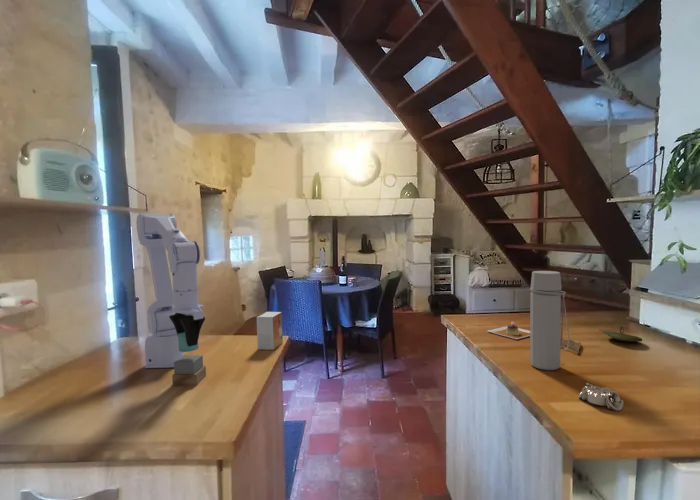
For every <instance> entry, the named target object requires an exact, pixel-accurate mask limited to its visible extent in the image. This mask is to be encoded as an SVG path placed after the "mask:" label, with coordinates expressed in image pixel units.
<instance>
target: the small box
mask: <svg viewBox="0 0 700 500" xmlns="http://www.w3.org/2000/svg"><path fill="white" fill-rule="evenodd" d="M256 334H257V335H256V339H257V341H256V342H257V350H267V351H269V350H271V351H272V350H273V351H274V350H275V349H277V348H278V347H279V346H281V345H282V344H283V343H284V341H283V337H284V336H283V312H282V311H266V312H264V313H262V314H260V315H258V316H256Z"/></svg>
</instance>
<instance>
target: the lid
mask: <svg viewBox="0 0 700 500" xmlns="http://www.w3.org/2000/svg"><path fill="white" fill-rule="evenodd" d="M622 329H623V331H622ZM624 331H625V327H624V326H623V325H621V326H620V328H619V332H616V331H611V330H601V332H602V334H604V335H606V336H608V337H609V338H612V339H614V340H618V341H621V342H626V343H627V342H629V343H633V342H643V339H642V338H641V337H639V336H636V335H630V334H626V333H624Z"/></svg>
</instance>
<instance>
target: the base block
mask: <svg viewBox="0 0 700 500" xmlns="http://www.w3.org/2000/svg"><path fill="white" fill-rule="evenodd" d="M206 367H207V366H206V365H203V367H202V368H201V369H200V370H199V371H197V372H196V373H195V374H174V373H173V374H172V375H171V377H172V378H171V381H172V387H179V386H180V387H181V386H183V387H184V386H185V387H187V386H198V385H199V384H200V383H201V382H202V381H203V380H204V379H205V378H206V376H207V368H206Z"/></svg>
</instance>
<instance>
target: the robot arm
mask: <svg viewBox="0 0 700 500" xmlns="http://www.w3.org/2000/svg"><path fill="white" fill-rule="evenodd" d="M135 223H136V231H137V232H136V233H137V239H138V241H139V244H140V245H141V246H143V247H144V248H146V251H147V254H148V259H149V265H150V272H151V277H152V278H151V279H152V283H153V289H154V295H155V301H153V303H151V304H150V305H149V306H148V308H147V310H146V315H147V316H146V317H147V318H146V319H147V329H148V331H149V334H148V335H147V337H146V338H145V341H144V353H145V365H144V369H162V368H163V369H164V368H168V369H169V368H174V362H175V361H176V360H178V359H179V358H181V357H182V356H184V355H185V352H180V351H179V347H178V334H179V333H181V332H185V336H186V342H187V345H188V346H189V347H190V346H194V345H197V343H198V344H199V337H200V333H201V329H202V326H203V324H204V322H205V321H206V317H205V316H204V310H202V309H203V308H204V304H199V288H198V287H199V285H198V264H199V263H200V260H201V252H200V251H201V250H200V245H199V243H198V242H197V241H196V240H192V241H190V240H189V238H187V236H186V235H185V234H184V232H183V231H181V230H180V229H179V228H178V225H177V224H178V223H177V218H176V216H175V215H174V213H138V215H137V216H136V222H135ZM171 273H172V274H171ZM171 277H172V279H171Z"/></svg>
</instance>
